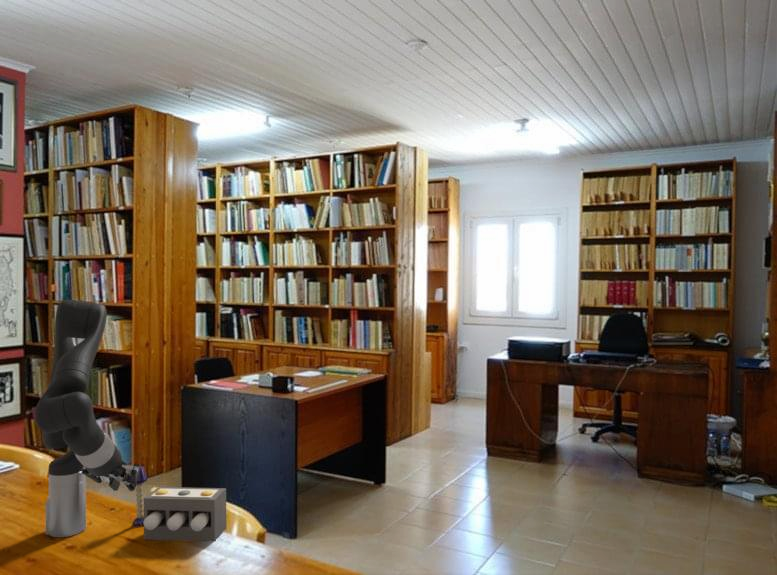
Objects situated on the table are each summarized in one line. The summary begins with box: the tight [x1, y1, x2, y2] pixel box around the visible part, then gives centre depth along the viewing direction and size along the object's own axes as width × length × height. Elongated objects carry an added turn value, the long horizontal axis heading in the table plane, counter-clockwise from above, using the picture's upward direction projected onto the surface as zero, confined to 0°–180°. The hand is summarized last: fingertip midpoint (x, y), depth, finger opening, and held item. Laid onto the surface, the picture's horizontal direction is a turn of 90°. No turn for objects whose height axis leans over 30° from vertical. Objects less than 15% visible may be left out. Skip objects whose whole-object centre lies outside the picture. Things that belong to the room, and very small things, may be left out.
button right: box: [191, 511, 210, 531], centre depth 161 cm, size 4×6×4 cm, turn 176°
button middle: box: [167, 511, 187, 531], centre depth 162 cm, size 4×6×4 cm, turn 176°
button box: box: [143, 486, 227, 542], centre depth 166 cm, size 20×9×12 cm, turn 86°
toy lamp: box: [132, 465, 148, 527], centre depth 173 cm, size 5×5×17 cm
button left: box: [143, 510, 165, 530], centre depth 162 cm, size 4×6×4 cm, turn 176°
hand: (125, 487), depth 146 cm, fingers open, 3 cm apart
